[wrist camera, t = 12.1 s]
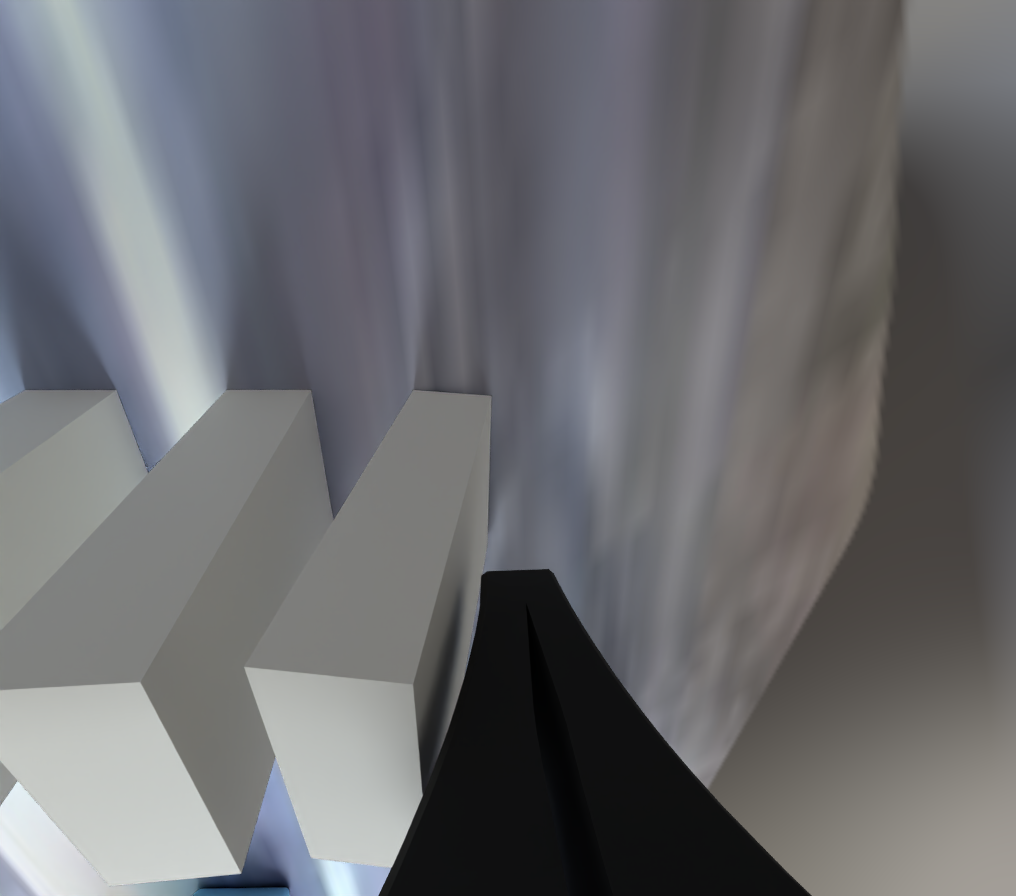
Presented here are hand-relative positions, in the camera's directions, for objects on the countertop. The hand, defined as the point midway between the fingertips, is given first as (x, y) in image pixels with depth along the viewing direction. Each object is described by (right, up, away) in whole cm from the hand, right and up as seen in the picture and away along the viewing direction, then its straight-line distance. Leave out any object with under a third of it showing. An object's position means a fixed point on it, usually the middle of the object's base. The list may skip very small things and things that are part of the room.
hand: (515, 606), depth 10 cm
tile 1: (-2, +2, +4) cm, 5 cm away
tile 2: (-6, +2, +4) cm, 8 cm away
